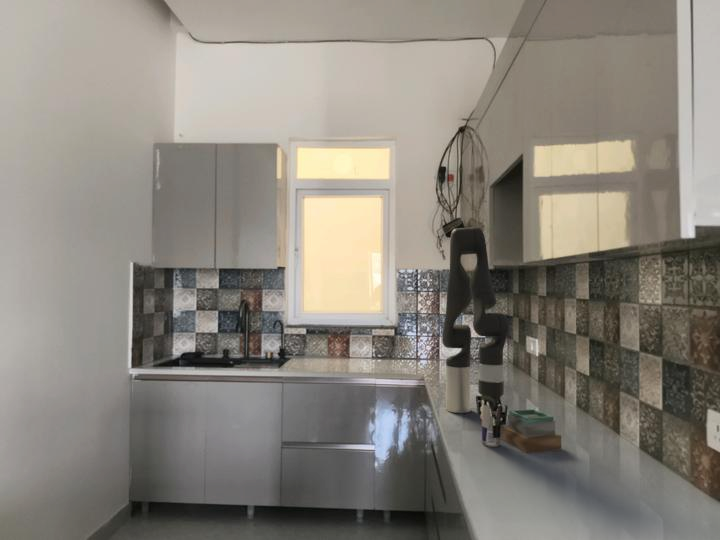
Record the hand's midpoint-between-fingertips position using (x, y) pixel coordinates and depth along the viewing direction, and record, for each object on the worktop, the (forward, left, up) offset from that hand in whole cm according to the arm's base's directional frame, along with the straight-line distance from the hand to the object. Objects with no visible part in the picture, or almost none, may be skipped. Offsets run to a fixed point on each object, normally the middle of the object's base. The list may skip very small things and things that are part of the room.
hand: (491, 434), depth 136 cm
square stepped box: (+3, +12, -3) cm, 13 cm away
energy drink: (0, 0, -3) cm, 3 cm away
